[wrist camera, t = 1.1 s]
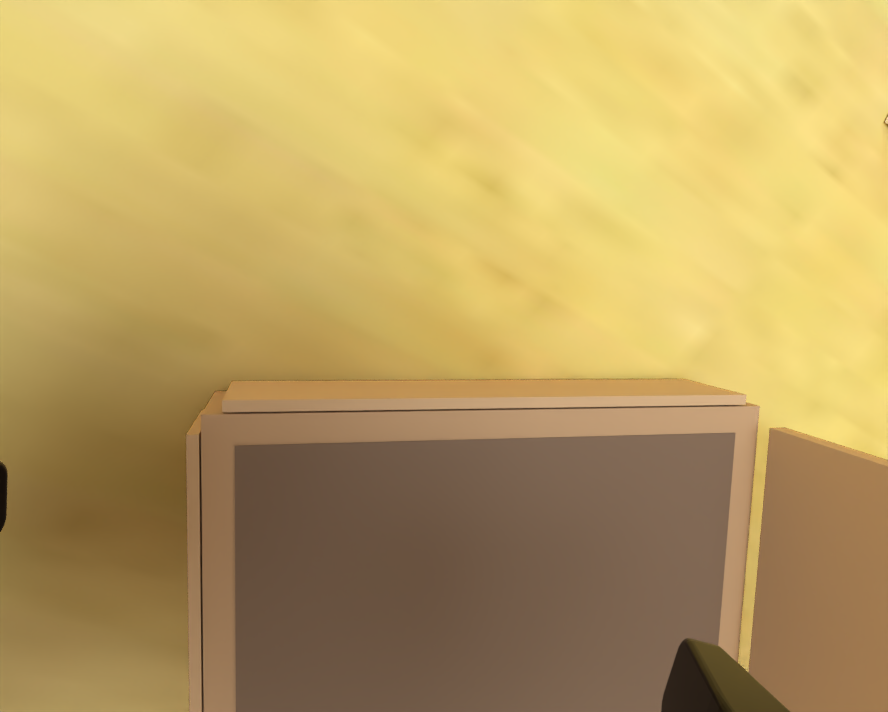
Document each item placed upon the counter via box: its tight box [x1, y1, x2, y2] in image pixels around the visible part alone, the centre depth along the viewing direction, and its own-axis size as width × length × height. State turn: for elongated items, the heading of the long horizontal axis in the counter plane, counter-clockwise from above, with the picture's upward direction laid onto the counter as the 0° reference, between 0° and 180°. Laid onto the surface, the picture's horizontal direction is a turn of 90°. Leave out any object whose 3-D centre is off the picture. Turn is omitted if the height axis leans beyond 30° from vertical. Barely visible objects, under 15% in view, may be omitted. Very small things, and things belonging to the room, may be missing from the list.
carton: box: [186, 379, 760, 712], centre depth 21 cm, size 16×13×4 cm
